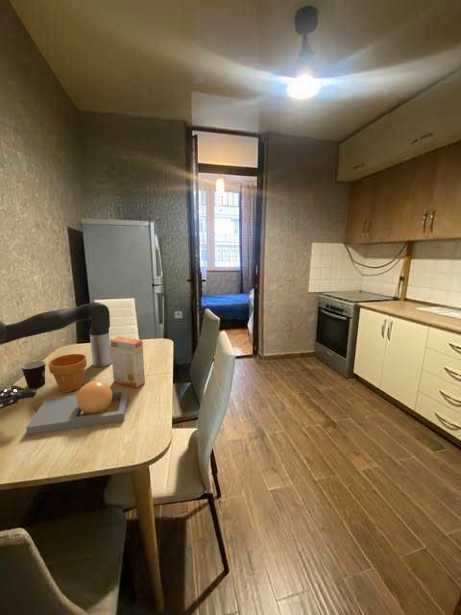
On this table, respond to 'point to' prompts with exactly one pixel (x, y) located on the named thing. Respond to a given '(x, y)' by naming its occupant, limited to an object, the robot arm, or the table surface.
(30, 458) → the table surface
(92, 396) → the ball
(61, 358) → the flower pot
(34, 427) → the tray
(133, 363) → the cracker box
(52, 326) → the robot arm
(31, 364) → the coffee mug
